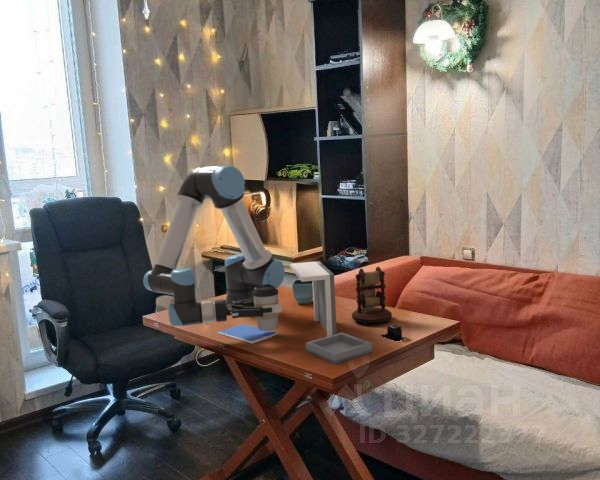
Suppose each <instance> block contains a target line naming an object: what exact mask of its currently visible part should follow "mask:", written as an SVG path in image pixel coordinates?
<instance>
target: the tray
mask: <svg viewBox="0 0 600 480" xmlns="http://www.w3.org/2000/svg"><path fill="white" fill-rule="evenodd" d="M305 352H306V353H308V354H309V355H312V356H315V357H318V358H320V359H322V360H324V361H327V362H329V363H330V364H334V365H337V364H338V365H339V364H341V363H343V362H347V361H349V360H353V359H356V358H359V356H360V357H362V355H363V356H366V355H369V354H372V353H373V343H372V342H370V341H367V340H364V339H361V338H358V337H356V336H353V335H350V334H348V333H345V332H337V334H335V335H331V336H327V335H326V336H324V337H321V338H317V339H315V340H310V341H307V342H305Z"/></svg>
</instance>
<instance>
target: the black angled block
mask: <svg viewBox="0 0 600 480" xmlns="http://www.w3.org/2000/svg"><path fill="white" fill-rule="evenodd" d="M386 329H387V330H386V332H387V333H385V335H384V334H381V335H382V336H383V337H382V336H381V337H382V338H384V337H386V338H385V339H387V338H388V339H387V340H389V339H391V340H394V341H400V340H404V339H407V337H405V336H403V334H402V333H403V330H402V326H400V325H398V324H396V323H393V324H389V325H387V328H386ZM402 336H403V337H402ZM404 337H405V338H404ZM391 340H390V341H391ZM394 341H393V342H394Z"/></svg>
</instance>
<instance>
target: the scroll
mask: <svg viewBox="0 0 600 480" xmlns="http://www.w3.org/2000/svg"><path fill="white" fill-rule="evenodd" d="M385 275H386V272H385V271H383V270H382V269H381V267H380V266H377V267H376V268H375V271H366V272H365V271H364V269H363V268H360V269H359V271H358V273H357V274H355V280H356V287H355V291H356V294H357V295H356V298H357V299H356V303H357V304H356V306H357V309H356V310H355V311H353V312H352V313H351V318H352V320H354V321H356V322H359V323H360V322H362V323H363V325H364V326H366V325H367V323H380V322H385V321H387V323H390V321H391V319H392V317H393V314H392V312H391V311H390V310H389V309H387V308H386V301H385V300H386V298H387V297H386V293H385V290H386V284H385ZM379 283H380V284H379ZM379 289H380V290H381V291H379ZM376 290H377V291H376Z"/></svg>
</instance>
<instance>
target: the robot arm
mask: <svg viewBox="0 0 600 480" xmlns="http://www.w3.org/2000/svg"><path fill="white" fill-rule="evenodd" d="M245 185H246V180H245V177H244V175H243V173H242V172H241V171H240V169H239V168H237V167H235V166H232V165H226V164H225V165H224V164H221V165H201V166H198V167H195V168H194V169H193V170H191V171H190V172H189V174H188V175H187V176H186V178H184V180H183V182H182V184H181V185H180V188H179V190H178V192H177V195H176V199H177V203H176V206H175V209H174V210H173V211H174V212H173V214H172V216H171V219H170V222H169V224H168V228H167V231H166V233H165V235H164V239H163V241H162V244H161V247H160V250H159V252H158V255H157V259H156V261H155V263H154V266H153V269H151V270H149V271H147V272H146V273H145V274H144V276H143V281H142V282H143V286H144V287H145V289H146V290H148V291H151V292H153V293H160V294H164V295H165V294H166V295H171V296H172V299H173V300H172V301H173V303H172V304H169V305H168V311H167V312H168V321H169V324H170V326H172V327H185V326H193V325H198V324H199V325H200V324H206V325H209V324H211V323H214V322H215V321H216V323H219V322H220V323H221V322H226V321H227V320H228V316H231V318H232V319H239V318H256V317H263V314H270V313H278V314H279V313H282V312H283V310H282V309H283V308H282V303H278V304H277V305H267V306H262V307H255V306H254V296H253V291H254V290H255V288H256V287H259V286H263V285H265V284H270V285H272V286H274V287H275V288H276V289H278V288H280V286H281V285H282V283H283V281H284V279H285V273H286V272H285V271H286V270H285V265H284V264H283V262H282V261H281V260H278V259H275V258H274V255H273V254H272V251H270V250H269V249H266V248H265V246H264V243H263V241H262V239H261V237H260V235H259V233H258V230H257V228H256V227H255V224H254V222H253V220H252V217H251V216H250V213H249V211H248V209H247V206H246V205H245V202H244V200H243V199H244V197H245V193H244V192H245V189H246V186H245ZM206 199H210V200H211V201H212V204H213V205H214V206H213V207H214V208H216V209H217V210H221V212H222V215H223V217H224V219H225V221H226V223H227V226H228V227H229V229H230V231H231V233H232V234H233V236H234V239H235V241H236V243H237V245H238V248H239V249H240V251H241V253H238V254H234V255H230V256H227V257H225V259H224V275H225V284H226V296H225V299H215V300H214V301H213V300H205V301H197V298H196V283H195V276H194V271H193V269H192V268H189V267H180V268H178V265H179V262H180V259H181V257H182V254H183V250H184V248H185V245H186V242H187V240H188V237H189V235H190V231H191V228H192V227H193V223H194V220H195V218H196V214H197V212H198V209H199V208H201V207H202V206H203V203H204V201H205V200H206Z"/></svg>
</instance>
